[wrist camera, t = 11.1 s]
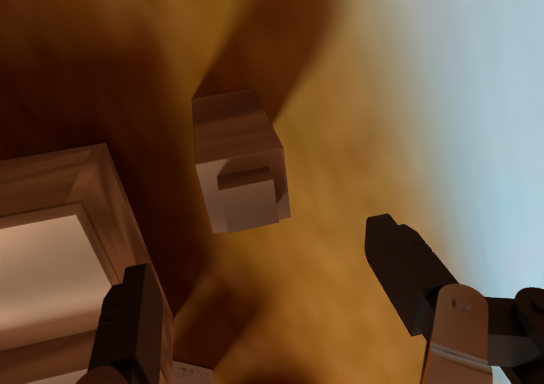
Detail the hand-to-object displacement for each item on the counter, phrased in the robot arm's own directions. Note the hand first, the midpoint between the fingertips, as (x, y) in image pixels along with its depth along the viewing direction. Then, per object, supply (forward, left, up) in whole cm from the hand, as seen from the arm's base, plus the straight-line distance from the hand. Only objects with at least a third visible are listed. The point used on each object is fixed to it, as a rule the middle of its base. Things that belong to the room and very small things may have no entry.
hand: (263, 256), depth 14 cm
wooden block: (0, 0, -14) cm, 14 cm away
